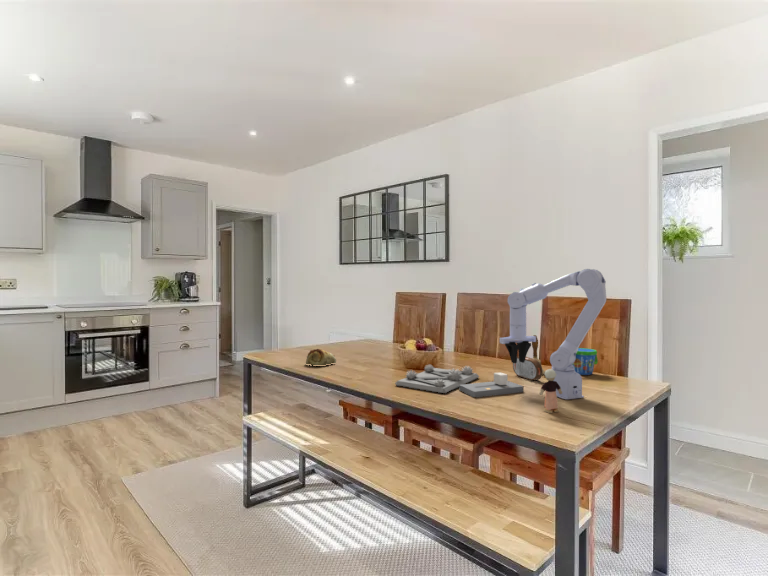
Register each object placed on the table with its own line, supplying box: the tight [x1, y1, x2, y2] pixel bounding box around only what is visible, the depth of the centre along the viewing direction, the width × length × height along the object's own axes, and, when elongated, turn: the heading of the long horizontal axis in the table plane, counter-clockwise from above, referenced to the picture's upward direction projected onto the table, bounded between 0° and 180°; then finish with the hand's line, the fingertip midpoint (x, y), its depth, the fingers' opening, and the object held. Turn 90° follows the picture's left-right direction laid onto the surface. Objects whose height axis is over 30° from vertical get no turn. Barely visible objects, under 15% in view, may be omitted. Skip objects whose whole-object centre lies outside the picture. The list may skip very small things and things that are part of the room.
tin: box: [512, 355, 543, 381], centre depth 170 cm, size 15×3×8 cm, turn 22°
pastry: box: [305, 348, 337, 365], centre depth 200 cm, size 14×12×8 cm
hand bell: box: [531, 334, 546, 375], centre depth 180 cm, size 8×8×16 cm
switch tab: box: [493, 371, 509, 385], centre depth 152 cm, size 4×3×4 cm
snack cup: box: [572, 347, 599, 376], centre depth 178 cm, size 16×10×10 cm
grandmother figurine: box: [539, 368, 562, 414], centre depth 127 cm, size 8×4×13 cm, turn 118°
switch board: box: [458, 380, 525, 398], centre depth 150 cm, size 10×20×2 cm, turn 110°
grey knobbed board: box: [394, 364, 480, 394], centre depth 164 cm, size 30×22×7 cm
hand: (517, 362), depth 154 cm, fingers open, 3 cm apart
